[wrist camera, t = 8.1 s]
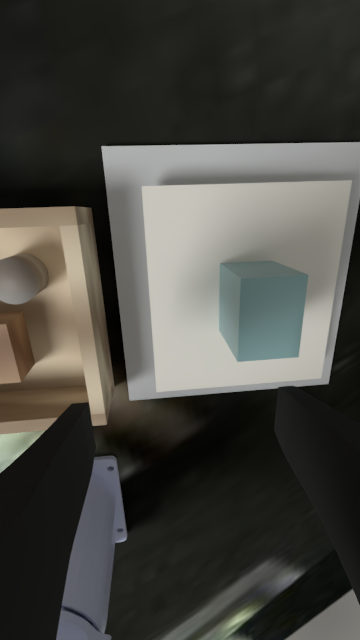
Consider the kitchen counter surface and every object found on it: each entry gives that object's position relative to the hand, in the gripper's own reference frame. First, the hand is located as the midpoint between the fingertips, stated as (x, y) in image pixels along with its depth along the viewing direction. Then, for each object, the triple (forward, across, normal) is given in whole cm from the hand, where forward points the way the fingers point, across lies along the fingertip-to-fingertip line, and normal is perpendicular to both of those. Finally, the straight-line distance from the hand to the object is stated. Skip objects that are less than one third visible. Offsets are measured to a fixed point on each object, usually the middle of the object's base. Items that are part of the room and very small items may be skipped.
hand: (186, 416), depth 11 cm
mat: (+9, -4, -3) cm, 11 cm away
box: (+9, +10, -2) cm, 14 cm away
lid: (+9, -4, -3) cm, 10 cm away
